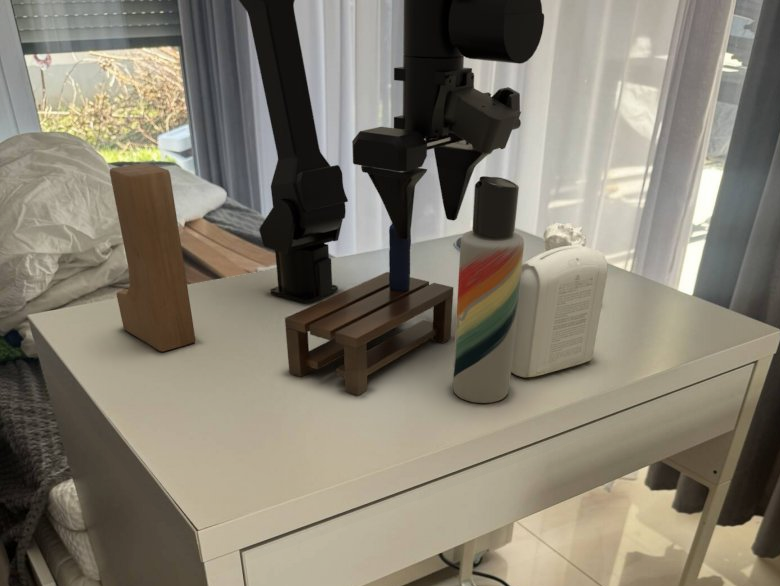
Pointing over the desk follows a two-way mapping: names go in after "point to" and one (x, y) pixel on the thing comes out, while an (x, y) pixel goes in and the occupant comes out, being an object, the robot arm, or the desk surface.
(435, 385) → the desk surface
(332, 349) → the rack
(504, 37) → the robot arm
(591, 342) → the photo printer
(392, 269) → the eraser
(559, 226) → the bust
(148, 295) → the wooden block
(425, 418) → the desk surface
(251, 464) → the desk surface
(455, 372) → the lotion bottle
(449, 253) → the desk surface
